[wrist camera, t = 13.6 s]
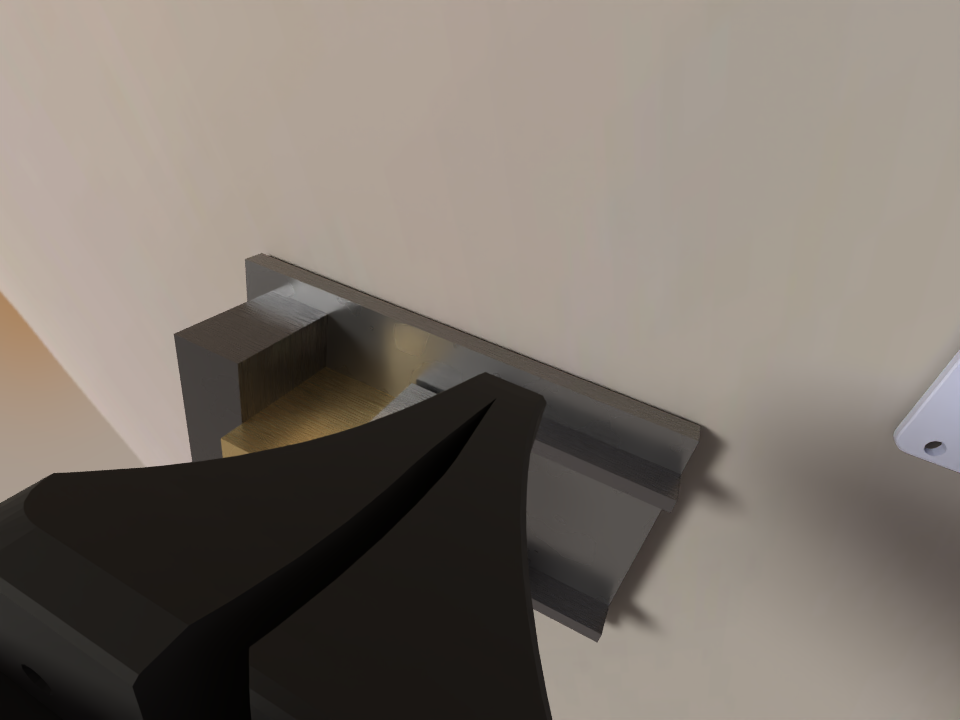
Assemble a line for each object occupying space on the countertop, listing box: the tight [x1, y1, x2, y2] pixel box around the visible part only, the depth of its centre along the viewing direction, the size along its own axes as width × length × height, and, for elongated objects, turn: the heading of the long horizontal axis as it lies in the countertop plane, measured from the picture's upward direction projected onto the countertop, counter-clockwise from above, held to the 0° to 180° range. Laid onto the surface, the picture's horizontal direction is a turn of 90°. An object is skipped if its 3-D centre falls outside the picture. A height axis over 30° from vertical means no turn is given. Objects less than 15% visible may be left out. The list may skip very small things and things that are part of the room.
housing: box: [221, 367, 396, 458], centre depth 22 cm, size 4×4×6 cm
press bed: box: [174, 253, 701, 642], centre depth 22 cm, size 20×12×6 cm, turn 78°
